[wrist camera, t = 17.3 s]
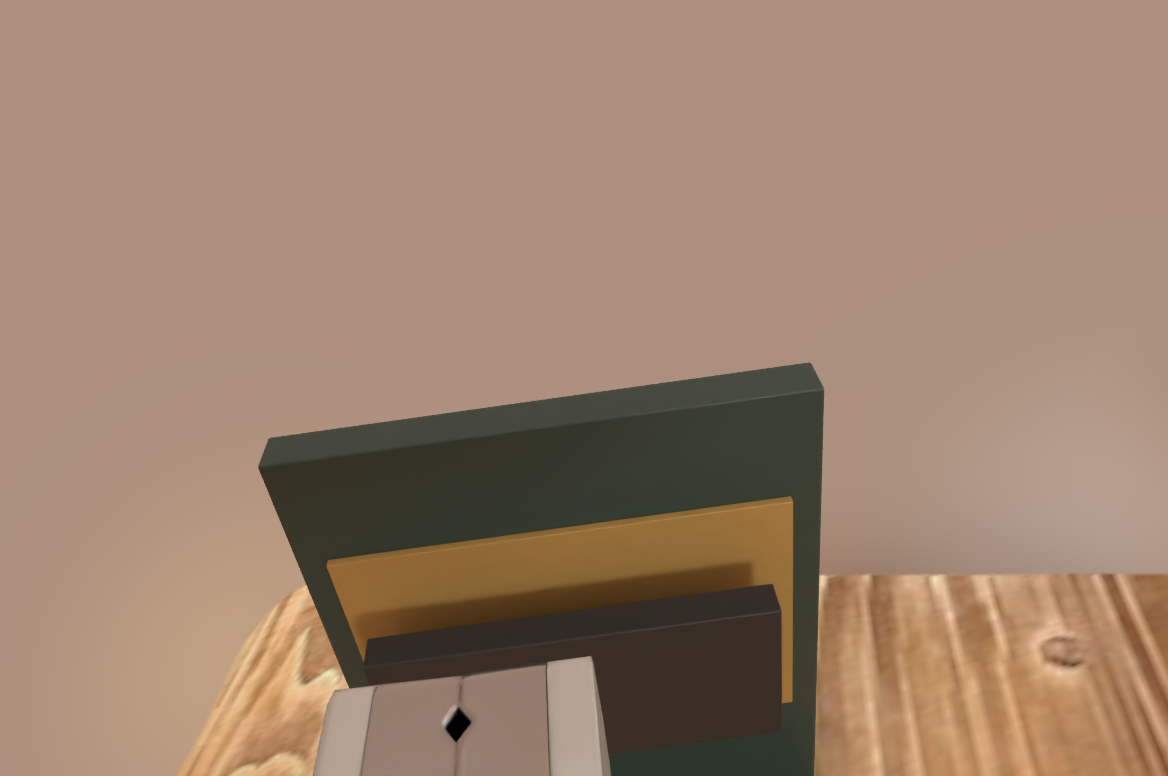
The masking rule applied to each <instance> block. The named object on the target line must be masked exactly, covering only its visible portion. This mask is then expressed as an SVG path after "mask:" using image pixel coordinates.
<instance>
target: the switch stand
mask: <svg viewBox="0 0 1168 776" xmlns="http://www.w3.org/2000/svg"><path fill="white" fill-rule="evenodd" d="M823 412H824V387H823V386H822V384H821V382H820V380H819V378H818V376H817V374H816V372H815V370H814V368H813V366H812V364H811V363H802V364H795V365H788V366H781V367H774V368H767V369H760V370H753V371H746V372H738V373H731V374H724V375H717V376H710V377H703V378H696V379H688V380H682V381H674V382H667V383H659V384H652V385H646V386H638V387H631V388H624V389H617V390H609V391H602V392H595V393H588V394H581V395H574V396H567V397H559V398H552V399H545V400H538V401H531V402H524V403H517V404H510V405H502V406H495V407H488V408H481V409H474V410H466V411H460V412H452V413H445V414H438V415H431V416H424V417H417V418H410V419H402V420H395V421H388V422H381V423H374V424H367V425H360V426H353V427H345V428H338V429H331V430H324V431H316V432H309V433H302V434H295V435H289V436H281V437H274V438H269V439H268V442H267V445H266V448H265V450H264V453H263V455H262V458H261V461H260V463H259V466H258V467H259V470H260V473H261V475H262V478H263V480H264V483H265V485H266V487H267V490H268V492H269V495H270V497H271V500H272V502H273V505H274V507H275V509H276V512H277V514H278V517H279V519H280V521H281V524H282V526H283V529H284V531H285V533H286V536H287V538H288V541H289V543H290V546H291V548H292V551H293V553H294V555H295V558H296V560H297V562H298V565H299V567H300V570H301V572H302V575H303V577H304V579H305V582H306V585H307V587H308V589H309V592H310V594H311V597H312V599H313V601H314V604H315V606H316V609H317V611H318V614H319V616H320V618H321V621H322V623H323V626H324V628H325V631H326V633H327V635H328V638H329V640H330V643H331V645H332V648H333V650H334V652H335V655H336V657H337V660H338V662H339V664H340V667H341V669H342V672H343V674H344V677H345V679H346V681H347V684H348V686H349V689H350V688H358V687H366V686H370V685H369V683H368V680H367V678H366V675H365V673H364V670H363V663H364V657H365V651H366V646H367V640H368V639H370V638H377V637H384V636H392V635H399V634H406V633H414V632H421V631H428V630H436V629H443V628H450V627H458V626H465V625H472V624H480V623H487V622H494V621H502V620H509V619H516V618H524V617H531V616H538V615H546V614H553V613H560V612H568V611H575V610H582V609H590V608H597V607H604V606H612V605H619V604H626V603H634V602H641V601H648V600H656V599H663V598H670V597H678V596H685V595H692V594H700V593H707V592H714V591H722V590H729V589H736V588H744V587H751V586H758V585H766V584H773V586H774V589H775V592H776V595H777V598H778V601H779V604H780V607H781V610H782V731H781V732H775V733H767V734H760V735H752V736H745V737H737V738H730V739H722V740H715V741H707V742H700V743H693V744H685V745H678V746H670V747H663V748H655V749H648V750H640V751H633V752H625V753H618V754H610V755H609V762H610V771H611V776H814V757H815V719H816V680H817V642H818V604H819V565H820V564H819V563H820V527H821V488H822V487H821V485H822V450H823Z"/></svg>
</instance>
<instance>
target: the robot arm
mask: <svg viewBox="0 0 1168 776" xmlns="http://www.w3.org/2000/svg"><path fill="white" fill-rule="evenodd" d="M313 776H611V771H610V762H609V755H608V749H607V742H606V735H605V729H604V722H603V716H602V710H601V704H600V698H599V693H598V687H597V681H596V676H595V670H594V664H593V660H592V657H591V656H588V657H581V658H573V659H566V660H559V661H551V662H547V661H545V662H538V663H532V664H525V665H518V666H512V667H505V668H499V669H492V670H485V671H479V672H472V673H465V674H463V676H454V677H445V678H436V679H427V680H418V681H408V682H399V683H390V684H381V685H374V686H366V687H358V688H350V689H342V690H335V691H334V693H333V694H332V696H331V698H330V700H329V702H328V704H327V708H326V713H325V718H324V723H323V728H322V732H321V737H320V742H319V747H318V752H317V757H316V762H315V767H314V772H313Z"/></svg>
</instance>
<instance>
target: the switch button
mask: <svg viewBox="0 0 1168 776" xmlns="http://www.w3.org/2000/svg"><path fill="white" fill-rule="evenodd" d="M588 656H591V657H592V660H593V664H594V670H595V676H596V681H597V687H598V693H599V698H600V704H601V710H602V716H603V722H604V729H605V735H606V742H607V749H608V755H610V754H618V753H625V752H633V751H640V750H648V749H655V748H663V747H670V746H678V745H685V744H693V743H700V742H707V741H715V740H722V739H730V738H737V737H745V736H752V735H760V734H767V733H775V732H781V731H782V610H781V607H780V604H779V601H778V598H777V595H776V592H775V589H774V586H773V584H766V585H758V586H751V587H744V588H736V589H729V590H722V591H714V592H707V593H700V594H692V595H685V596H678V597H670V598H663V599H656V600H648V601H641V602H634V603H626V604H619V605H612V606H604V607H597V608H590V609H582V610H575V611H568V612H560V613H553V614H546V615H538V616H531V617H524V618H516V619H509V620H502V621H494V622H487V623H480V624H472V625H465V626H458V627H450V628H443V629H436V630H428V631H421V632H414V633H406V634H399V635H392V636H384V637H377V638H370V639H368V640H367V646H366V651H365V657H364V663H363V670H364V673H365V675H366V678H367V680H368V683H369V685H370V686H374V685H381V684H390V683H399V682H408V681H418V680H427V679H436V678H445V677H454V676H463V674H465V673H472V672H479V671H485V670H492V669H499V668H505V667H512V666H518V665H525V664H532V663H538V662H545V661H547V662H551V661H559V660H566V659H573V658H581V657H588Z"/></svg>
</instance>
